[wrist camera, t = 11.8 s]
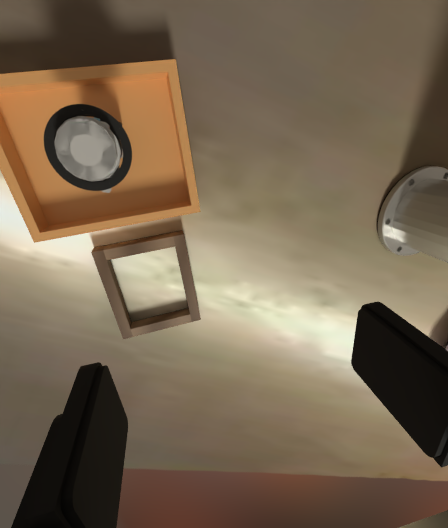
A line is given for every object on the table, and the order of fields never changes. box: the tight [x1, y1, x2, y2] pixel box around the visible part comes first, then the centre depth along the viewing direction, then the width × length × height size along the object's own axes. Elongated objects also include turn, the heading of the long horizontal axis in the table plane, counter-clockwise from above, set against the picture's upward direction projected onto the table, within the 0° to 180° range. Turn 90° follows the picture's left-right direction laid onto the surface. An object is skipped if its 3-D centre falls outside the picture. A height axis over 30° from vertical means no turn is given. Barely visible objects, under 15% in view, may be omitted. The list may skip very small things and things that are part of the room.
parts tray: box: [0, 59, 200, 242], centre depth 25 cm, size 16×13×3 cm
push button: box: [44, 104, 132, 193], centre depth 22 cm, size 7×5×10 cm
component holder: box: [91, 231, 201, 339], centre depth 33 cm, size 10×12×2 cm
